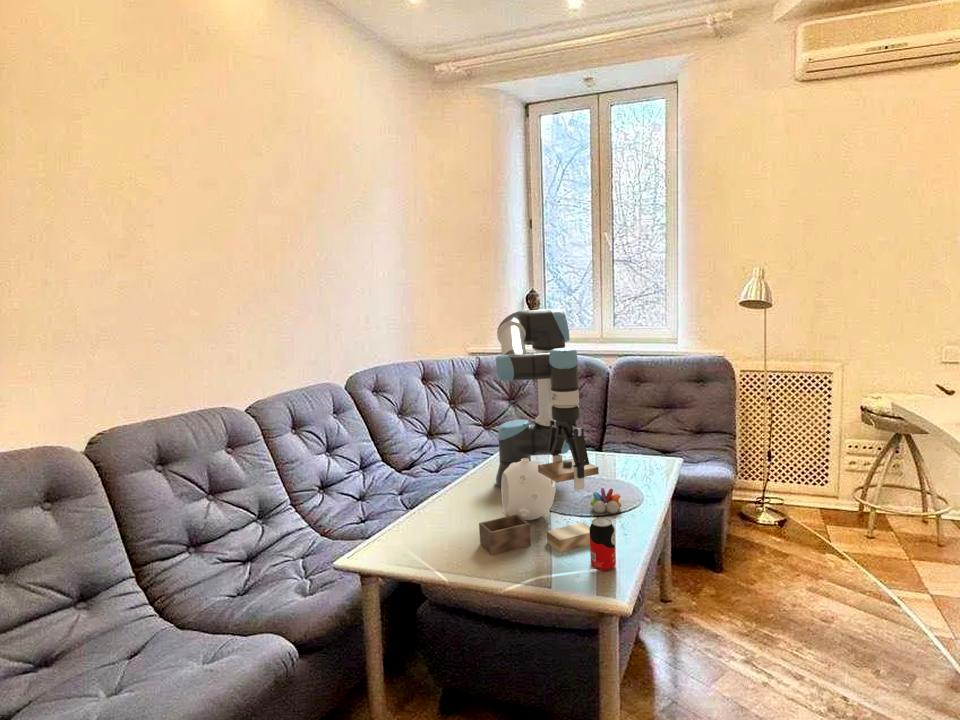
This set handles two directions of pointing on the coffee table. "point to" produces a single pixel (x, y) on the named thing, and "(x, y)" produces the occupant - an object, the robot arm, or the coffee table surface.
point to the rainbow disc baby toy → (606, 501)
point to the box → (504, 534)
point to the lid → (564, 470)
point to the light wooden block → (569, 537)
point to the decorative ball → (526, 491)
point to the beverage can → (602, 544)
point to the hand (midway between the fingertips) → (568, 483)
